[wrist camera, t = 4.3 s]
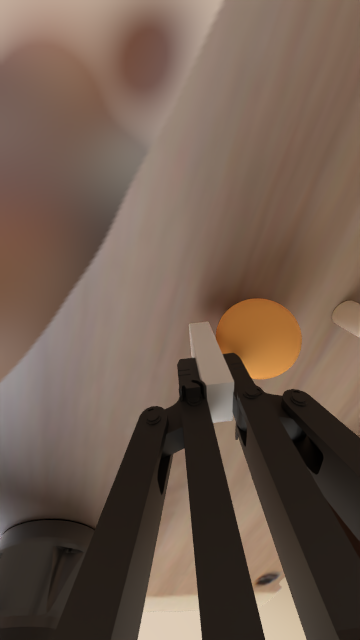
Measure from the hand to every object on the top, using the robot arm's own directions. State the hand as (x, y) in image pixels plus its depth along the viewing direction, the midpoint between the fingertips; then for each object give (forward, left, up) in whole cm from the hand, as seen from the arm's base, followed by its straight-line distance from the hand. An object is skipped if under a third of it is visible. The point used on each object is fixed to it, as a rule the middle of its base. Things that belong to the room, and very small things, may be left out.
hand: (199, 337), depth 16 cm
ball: (+4, 0, +1) cm, 4 cm away
